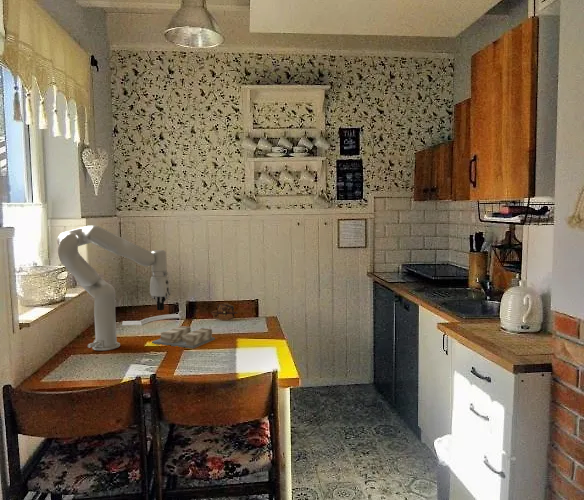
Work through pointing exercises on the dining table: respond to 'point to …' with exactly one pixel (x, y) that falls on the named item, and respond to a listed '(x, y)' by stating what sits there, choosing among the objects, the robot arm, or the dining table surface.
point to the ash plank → (174, 334)
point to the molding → (153, 319)
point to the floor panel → (182, 343)
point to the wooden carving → (224, 312)
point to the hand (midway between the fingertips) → (160, 309)
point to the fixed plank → (197, 336)
